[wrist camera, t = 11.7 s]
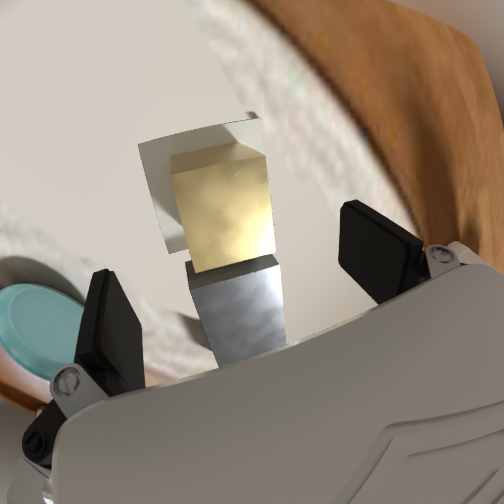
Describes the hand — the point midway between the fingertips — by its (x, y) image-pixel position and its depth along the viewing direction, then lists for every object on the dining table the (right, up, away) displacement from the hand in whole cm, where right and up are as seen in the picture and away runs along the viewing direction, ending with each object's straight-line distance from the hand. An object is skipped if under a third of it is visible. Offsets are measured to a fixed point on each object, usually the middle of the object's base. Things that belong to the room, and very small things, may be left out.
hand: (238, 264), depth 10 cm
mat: (-3, +6, +10) cm, 12 cm away
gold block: (-2, +5, +9) cm, 11 cm away
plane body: (-1, -5, +17) cm, 17 cm away
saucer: (-21, -7, +12) cm, 25 cm away
